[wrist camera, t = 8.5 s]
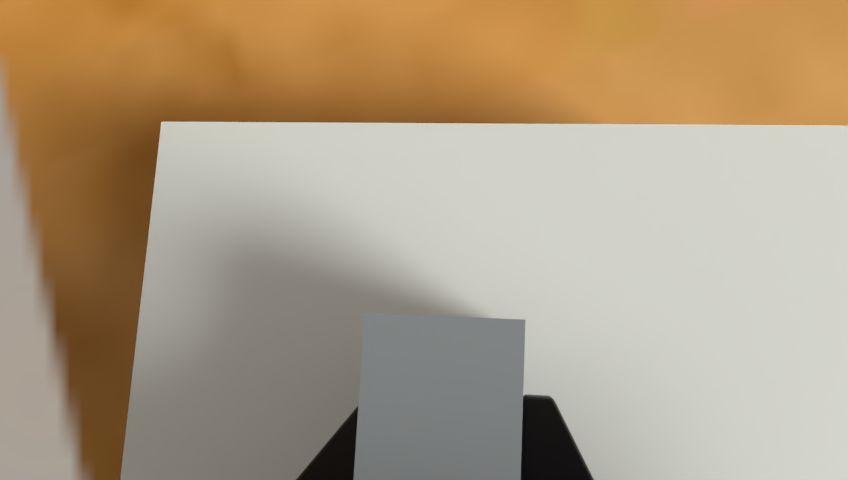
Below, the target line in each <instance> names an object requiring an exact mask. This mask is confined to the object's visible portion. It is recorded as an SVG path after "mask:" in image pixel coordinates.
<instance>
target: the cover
mask: <svg viewBox="0 0 848 480" xmlns="http://www.w3.org/2000/svg"><path fill="white" fill-rule="evenodd" d="M526 394H530V395H547V396H550V397H552V398H553V399H554V401H555V402H556V404H557V406H558V408H559V410H560V412H561V414H562V416H563V418H564V420H565V422H566V424H567V426H568V428H569V430H570V432H571V434H572V436H573V438H574V440H575V442H576V444H577V447H578V449H579V451H580V453H581V455H582V457H583V459H584V461H585V463H586V465H587V467H588V469H589V471H590V473H591V475H592V477H593V479H594V480H848V126H836V125H665V124H494V123H322V122H161V130H160V138H159V147H158V156H157V164H156V173H155V182H154V190H153V199H152V208H151V216H150V225H149V234H148V242H147V251H146V260H145V269H144V277H143V286H142V295H141V303H140V312H139V321H138V329H137V338H136V347H135V355H134V364H133V373H132V381H131V390H130V399H129V407H128V416H127V425H126V434H125V442H124V451H123V460H122V468H121V477H120V480H296V479H297V478H298V477H299V475H300V474H301V473H302V472H303V471H304V469H305V468H306V467H307V466H308V465H309V463H310V462H311V461H312V460H313V459H314V457H315V456H316V455H317V454H318V453H319V451H320V450H321V449H322V448H323V447H324V445H325V444H326V443H327V442H328V441H329V440H330V438H331V437H332V436H333V435H334V434H335V432H336V431H337V430H338V429H339V428H340V426H341V425H342V424H343V423H344V422H345V420H346V419H347V418H348V417H349V416H350V414H351V413H352V412H353V411H354V410H355V408H356V407H357V406H358V418H357V433H356V449H355V464H354V479H353V480H521V452H522V418H523V396H524V395H526Z"/></svg>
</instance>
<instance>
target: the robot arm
mask: <svg viewBox="0 0 848 480" xmlns="http://www.w3.org/2000/svg"><path fill="white" fill-rule="evenodd" d="M357 418H358V406H357V407H356V408H355V410H354V411H353V412H352V413H351V414H350V416H349V417H348V418H347V419H346V420H345V422H344V423H343V424H342V425H341V426H340V428H339V429H338V430H337V431H336V432H335V434H334V435H333V436H332V437H331V438H330V440H329V441H328V442H327V443H326V444H325V445H324V447H323V448H322V449H321V450H320V451H319V453H318V454H317V455H316V456H315V457H314V459H313V460H312V461H311V462H310V463H309V465H308V466H307V467H306V468H305V469H304V471H303V472H302V473H301V474H300V475H299V477H298V478H297V479H296V480H353V479H354V464H355V449H356V433H357ZM521 480H594V479H593V477H592V475H591V473H590V471H589V469H588V467H587V465H586V463H585V461H584V459H583V457H582V455H581V453H580V451H579V449H578V447H577V444H576V442H575V440H574V438H573V436H572V434H571V432H570V430H569V428H568V426H567V424H566V422H565V420H564V418H563V416H562V414H561V412H560V410H559V408H558V406H557V404H556V402H555V401H554V399H553V398H552V397H550V396H547V395H530V394H526V395H524V396H523V418H522V452H521Z"/></svg>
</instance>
